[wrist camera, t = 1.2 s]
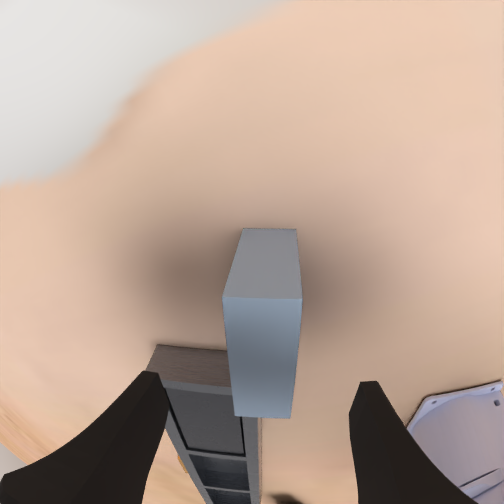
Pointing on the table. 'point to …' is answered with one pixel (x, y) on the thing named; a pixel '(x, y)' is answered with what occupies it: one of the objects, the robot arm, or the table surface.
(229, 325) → the blue-grey block
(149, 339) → the table surface
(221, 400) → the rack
